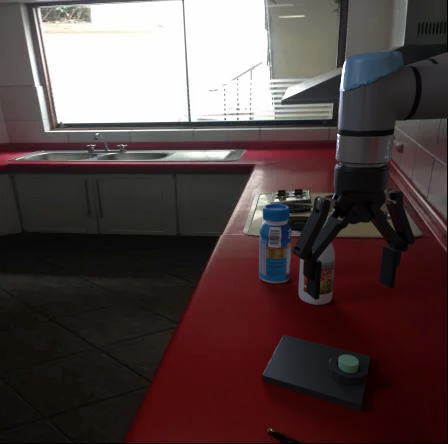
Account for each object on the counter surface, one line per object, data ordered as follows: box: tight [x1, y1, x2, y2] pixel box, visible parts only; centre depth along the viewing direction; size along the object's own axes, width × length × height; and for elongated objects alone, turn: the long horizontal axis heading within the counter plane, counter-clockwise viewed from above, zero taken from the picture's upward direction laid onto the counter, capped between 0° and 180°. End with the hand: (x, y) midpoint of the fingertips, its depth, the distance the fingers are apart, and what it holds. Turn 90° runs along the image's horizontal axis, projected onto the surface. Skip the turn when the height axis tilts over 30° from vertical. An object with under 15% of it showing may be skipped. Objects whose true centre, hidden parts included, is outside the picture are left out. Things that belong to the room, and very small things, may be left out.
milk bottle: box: [297, 218, 336, 306], centre depth 98 cm, size 8×8×20 cm
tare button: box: [338, 355, 359, 373], centre depth 72 cm, size 3×3×2 cm
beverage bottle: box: [258, 203, 293, 284], centre depth 110 cm, size 8×8×20 cm
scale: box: [261, 334, 372, 412], centre depth 75 cm, size 16×14×3 cm
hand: (350, 290), depth 69 cm, fingers open, 13 cm apart
